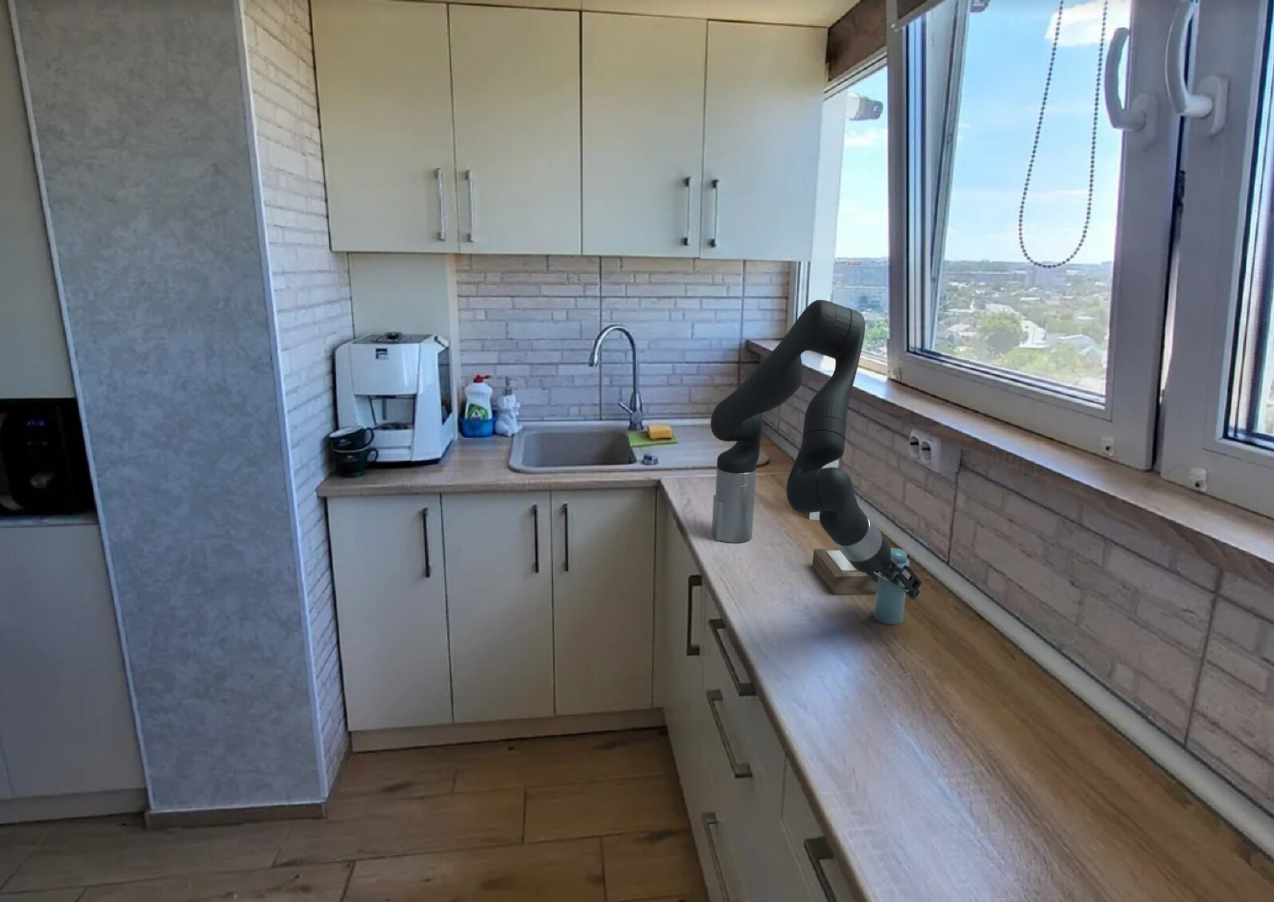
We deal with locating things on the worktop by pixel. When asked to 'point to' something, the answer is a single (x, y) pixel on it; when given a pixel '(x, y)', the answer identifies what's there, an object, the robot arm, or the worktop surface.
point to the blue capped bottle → (891, 594)
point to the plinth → (841, 573)
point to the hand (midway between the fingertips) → (896, 586)
